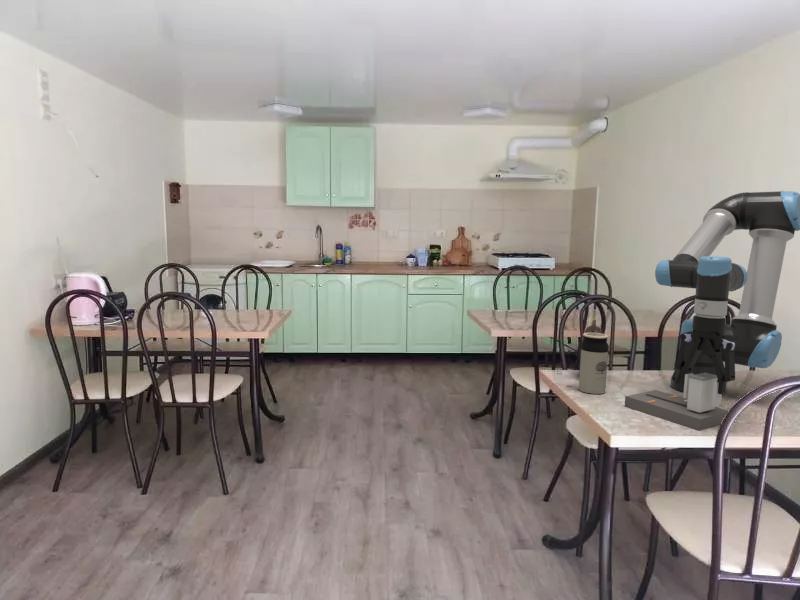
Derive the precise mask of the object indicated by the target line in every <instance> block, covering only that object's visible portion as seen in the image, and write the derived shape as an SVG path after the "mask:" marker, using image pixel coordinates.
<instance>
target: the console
mask: <svg viewBox="0 0 800 600" xmlns="http://www.w3.org/2000/svg"><path fill="white" fill-rule="evenodd" d="M687 401H688V398H683V397H681V396H678V395H676V394H675V395H674V394H671V393H669V392H668V393H667V392H664V391H661V390H657V389H653V390H649V391H644V392H639V393H635V394H628V395H625V396H624V407H626V408H629V409H632V410H635V411H638V412H642V413H644V414H647V415H650V416H653V417H656V418H660V419H663V420H666V421H669V422H672V423H675V424H678V425H680V426H684V427H686V428H689V429H693V430H696V431H703V430H706V429H709V428H713V427H716V426H720V424H721V422H722V420H723V418H724V417H725V415H726V414H727V413H728V411H729V410H728V409H725V408H720V407H719V406H715V409H712V410H708V411H704V412H700V413H699V412H696V411H692V410H689V409H687ZM721 425H722V424H721Z"/></svg>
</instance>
